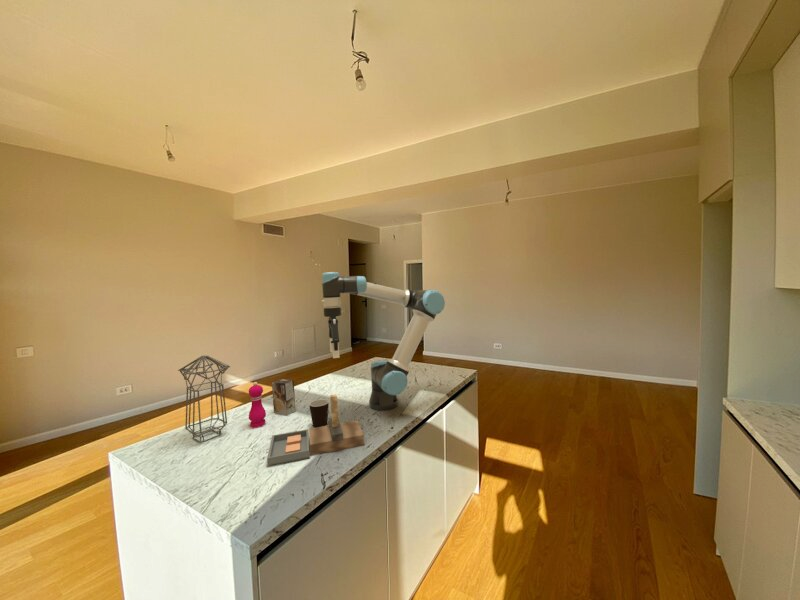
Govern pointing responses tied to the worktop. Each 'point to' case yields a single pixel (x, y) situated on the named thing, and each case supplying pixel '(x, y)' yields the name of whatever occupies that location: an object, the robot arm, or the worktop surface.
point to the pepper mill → (256, 406)
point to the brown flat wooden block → (323, 441)
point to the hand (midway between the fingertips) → (334, 354)
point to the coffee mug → (319, 412)
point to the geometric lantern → (202, 390)
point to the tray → (279, 448)
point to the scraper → (335, 420)
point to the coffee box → (283, 396)
